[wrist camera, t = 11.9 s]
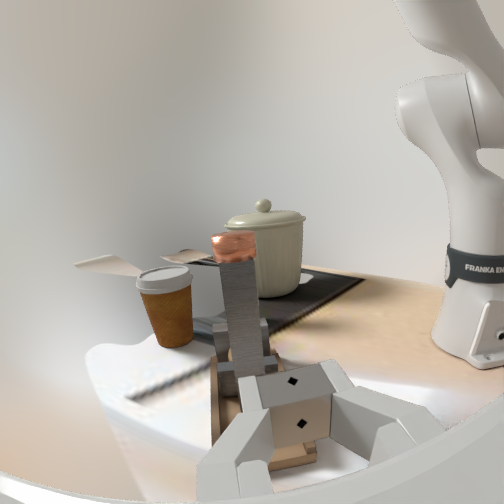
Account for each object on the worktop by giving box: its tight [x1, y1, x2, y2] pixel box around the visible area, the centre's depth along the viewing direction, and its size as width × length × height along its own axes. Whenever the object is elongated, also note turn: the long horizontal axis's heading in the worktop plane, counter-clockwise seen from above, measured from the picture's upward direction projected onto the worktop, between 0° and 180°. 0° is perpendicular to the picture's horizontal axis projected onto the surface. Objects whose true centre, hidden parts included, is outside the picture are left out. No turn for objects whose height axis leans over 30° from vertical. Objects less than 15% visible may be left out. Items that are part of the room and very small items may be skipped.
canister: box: [224, 199, 306, 298], centre depth 67 cm, size 18×18×21 cm
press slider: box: [211, 230, 278, 413], centre depth 27 cm, size 6×6×18 cm
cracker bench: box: [211, 318, 317, 471], centre depth 30 cm, size 20×9×6 cm, turn 7°
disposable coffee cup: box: [136, 266, 193, 348], centre depth 47 cm, size 10×10×12 cm
